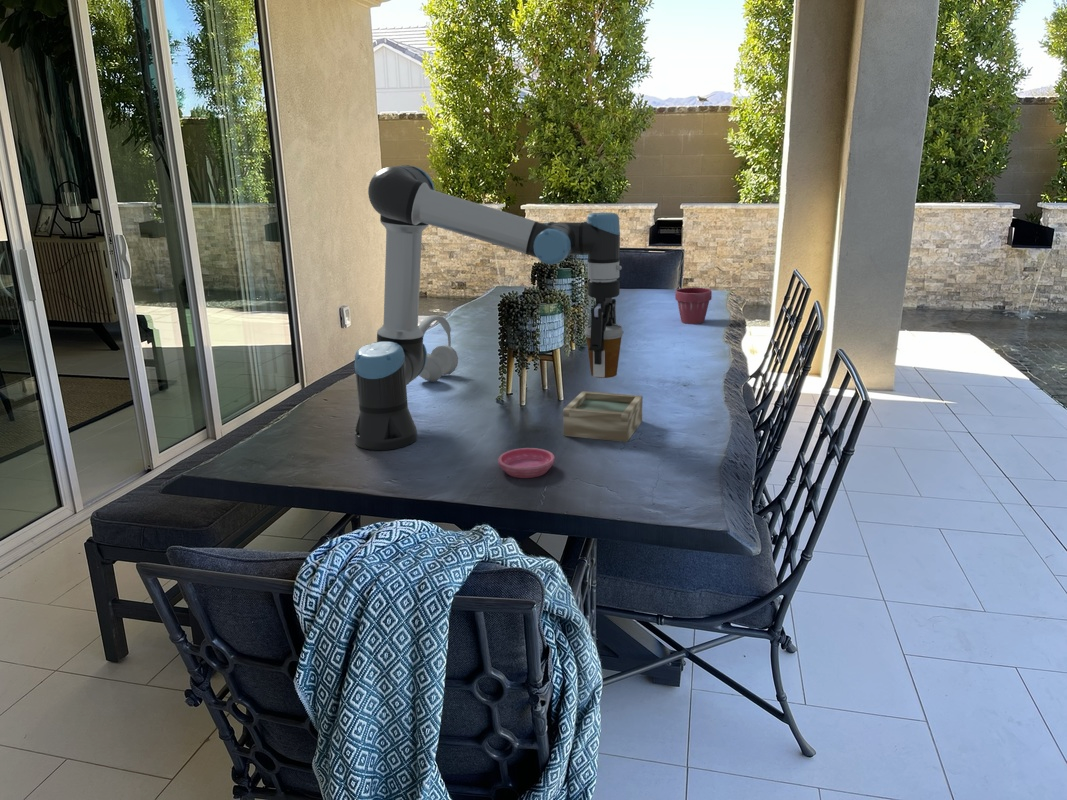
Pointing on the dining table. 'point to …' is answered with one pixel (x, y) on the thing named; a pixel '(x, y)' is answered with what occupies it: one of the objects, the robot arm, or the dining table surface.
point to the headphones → (438, 353)
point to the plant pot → (693, 304)
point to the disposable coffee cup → (607, 348)
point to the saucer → (526, 462)
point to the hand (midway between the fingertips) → (603, 371)
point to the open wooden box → (603, 416)
